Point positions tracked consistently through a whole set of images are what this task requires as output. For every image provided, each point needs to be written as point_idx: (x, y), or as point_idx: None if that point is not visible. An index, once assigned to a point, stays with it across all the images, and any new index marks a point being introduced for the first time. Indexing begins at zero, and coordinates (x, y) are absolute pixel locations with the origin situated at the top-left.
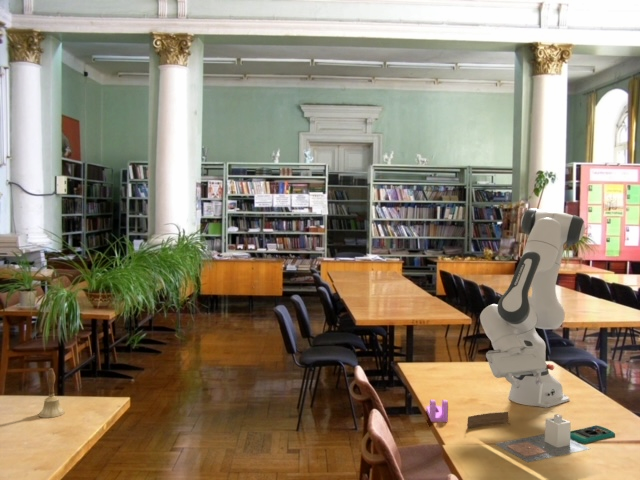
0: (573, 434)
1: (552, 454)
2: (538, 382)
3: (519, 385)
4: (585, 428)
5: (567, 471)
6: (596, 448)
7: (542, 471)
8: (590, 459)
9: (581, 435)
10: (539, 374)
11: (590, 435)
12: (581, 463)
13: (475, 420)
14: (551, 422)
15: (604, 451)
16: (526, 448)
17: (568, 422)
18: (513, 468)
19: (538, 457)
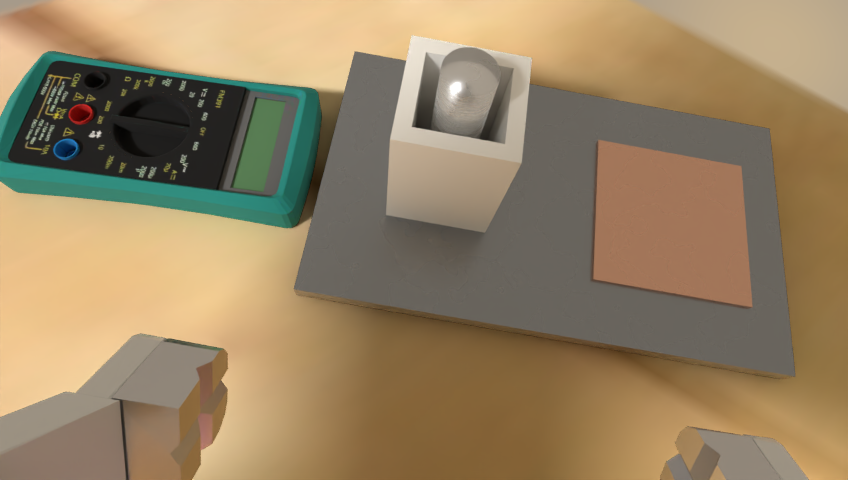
0: (294, 154)
1: (590, 114)
2: (219, 376)
3: (706, 430)
4: (109, 176)
5: (631, 23)
6: (283, 69)
7: (731, 75)
8: (435, 27)
9: (243, 139)
10: (4, 444)
11: (209, 103)
12: (510, 29)
13: None
14: (525, 113)
15: (287, 33)
16: (668, 222)
17: (430, 40)
18: (836, 156)
19: (682, 131)
